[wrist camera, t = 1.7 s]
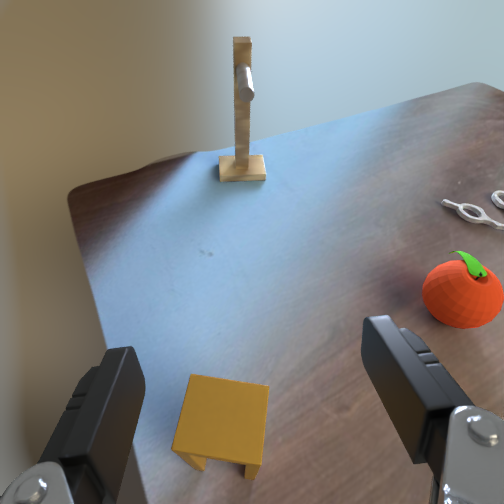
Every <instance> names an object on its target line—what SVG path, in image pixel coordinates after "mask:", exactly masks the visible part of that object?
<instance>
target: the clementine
mask: <svg viewBox="0 0 504 504" xmlns="http://www.w3.org/2000/svg"><path fill="white" fill-rule="evenodd" d="M453 252H458V253H459V254H460V255H461V256H462V257H463V259H464V260H455V261H449V262H446V263H444V264H441V265H438V266H437V267H436V268H435V269H433V270H432V271H431V272H430V273H429V274H428V276H427V277H426V279H425V281H424V283H423V290H422V296H423V301H424V303H425V305H426V307H427V309H428V310H429V312H430V313H431V314H432V315H433V316H434V317H435V318H436V319H438V320H439V321H441V322H442V323H444V324H447V325H449V326H452V327H455V328H462V329H466V328H476V327H480V326H482V325H484V324H486V323H488V322H490V321H492V320H493V319H494V317H495V316H496V315H497V314H498V313H499V312H500V311H501V307H502V304H503V300H504V294H503V289H502V286H501V283H500V281H499V280H498V278H497V277H496V276H495V275H494V274H493V273H492V272H491V271H490V270H489V269H487V268H486V267H484V266H482V265H481V264H480V263H479V262H478V261H477V260H476V259H475V258H474V257H473V256H471V255H469V254H467V253H465V252H460V251H452V252H450V253H453ZM450 253H449V254H450Z"/></svg>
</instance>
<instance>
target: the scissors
mask: <svg viewBox="0 0 504 504" xmlns="http://www.w3.org/2000/svg"><path fill="white" fill-rule="evenodd" d="M498 196H503V197H504V191H500V190H499V191H495V192H494V193H493V195H492V197H491V199H492V201H493V202H494V204H495V205H496V206H497V207H500V208H502V209H504V202H503V201H502V200H501V199H500V198H499V197H498ZM442 205H443V206H447V207H450V208H452V209H455V210H457V213H458V214H459V216H460V217H462V218H463V219H465V220H466V221H469V222H473V223H484V224H488V225H490V226H492V227H493V228H495V229H500V230H504V224H500V223H498V222H496V221H493V220H492V219H491V218H489V217H488V216H486V214H485V213H484V210H483V209H481V208H480V207H478V206H475V205H472V204H467V203H464V204H460V205H459V204H456V203H453V202H450V201H449V200H446V199H444V200H443V202H442ZM463 209H469V210H471V211H473V212H475V213H476V214H477V215H478V216H479V217H478V218H477V217H473V216H470V215H468V214H467V213H466V212H465V211H464V210H463Z"/></svg>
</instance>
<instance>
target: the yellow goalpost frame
mask: <svg viewBox="0 0 504 504" xmlns="http://www.w3.org/2000/svg"><path fill="white" fill-rule="evenodd" d="M268 395H269V386H267V385H260V384H254V383H247V382H241V381H235V380H228V379H222V378H215V377H209V376H203V375H196V374H191V375H190V379H189V383H188V387H187V390H186V394H185V398H184V402H183V406H182V410H181V413H180V417H179V421H178V425H177V429H176V433H175V436H174V440H173V444H172V448H171V450H172V451H173V452H175V453H176V454H177V455H179V456H180V457H181V458H182V459H183V460H184V461H186V462H187V463H188V464H189V465H190V466H192V467H193V468H194V469H195V470H199V471H204V470H205V465H206V460H207V458H209V459H215V460H220V461H226V462H232V463H237V464H243V465H246V467H245V475H244V478H245V479H250V480H254V479H255V477H256V475H257V473H258V470H259V468H260V466H261V463H262V453H263V443H264V433H265V424H266V414H267V404H268Z"/></svg>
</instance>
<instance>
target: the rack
mask: <svg viewBox="0 0 504 504" xmlns="http://www.w3.org/2000/svg"><path fill="white" fill-rule="evenodd" d="M251 51H252V42H251V38H250V37H233V58H234V59H233V60H234V61H233V62H234V121H235V156H219V174H220V182H229V181H260V180H266V171H265V165H264V160H263V155H249V137H250V101H252V100H253V98H254V89H253V84H252V79H251V53H252V52H251Z"/></svg>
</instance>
